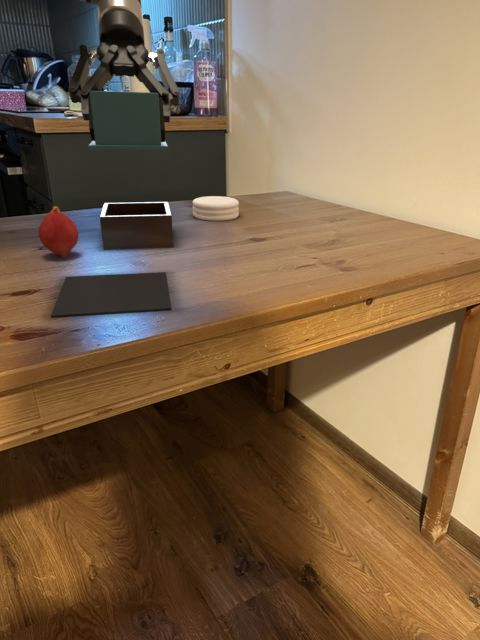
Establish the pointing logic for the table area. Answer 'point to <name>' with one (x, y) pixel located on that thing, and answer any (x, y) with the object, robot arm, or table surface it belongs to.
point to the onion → (58, 233)
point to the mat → (112, 294)
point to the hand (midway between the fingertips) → (128, 135)
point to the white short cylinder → (215, 208)
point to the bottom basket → (136, 225)
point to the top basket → (126, 121)
